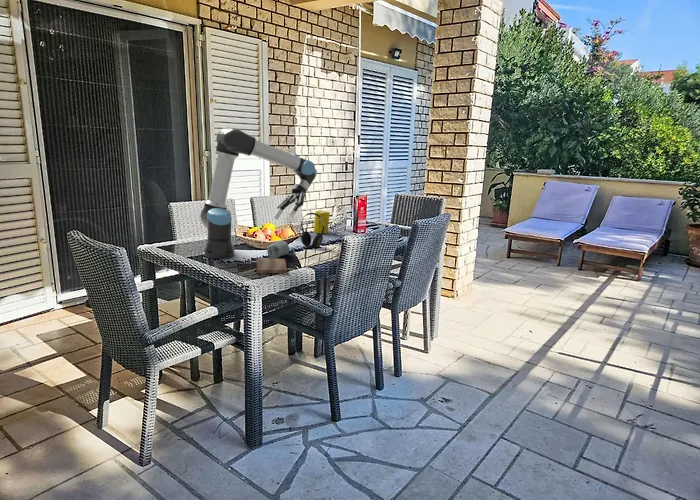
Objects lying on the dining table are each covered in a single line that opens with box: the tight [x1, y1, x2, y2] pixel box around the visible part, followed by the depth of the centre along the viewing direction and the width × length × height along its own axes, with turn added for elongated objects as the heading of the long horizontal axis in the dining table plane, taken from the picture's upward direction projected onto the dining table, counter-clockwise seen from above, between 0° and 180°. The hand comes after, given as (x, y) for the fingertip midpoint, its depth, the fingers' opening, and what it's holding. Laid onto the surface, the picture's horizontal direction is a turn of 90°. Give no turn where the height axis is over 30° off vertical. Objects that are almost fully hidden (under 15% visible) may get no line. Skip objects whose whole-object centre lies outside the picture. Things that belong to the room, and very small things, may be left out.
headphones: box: [300, 212, 325, 249], centre depth 266 cm, size 9×15×20 cm, turn 69°
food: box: [313, 209, 330, 234], centre depth 302 cm, size 15×12×10 cm
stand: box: [256, 257, 288, 274], centre depth 226 cm, size 14×18×2 cm
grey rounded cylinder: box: [266, 240, 290, 259], centre depth 244 cm, size 14×10×10 cm
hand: (283, 217), depth 251 cm, fingers open, 13 cm apart
